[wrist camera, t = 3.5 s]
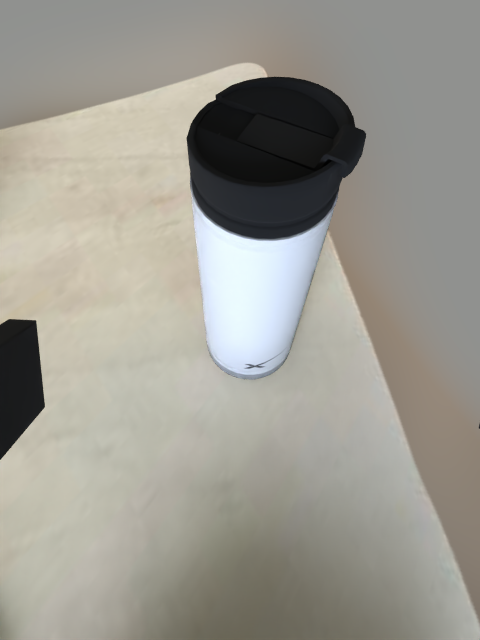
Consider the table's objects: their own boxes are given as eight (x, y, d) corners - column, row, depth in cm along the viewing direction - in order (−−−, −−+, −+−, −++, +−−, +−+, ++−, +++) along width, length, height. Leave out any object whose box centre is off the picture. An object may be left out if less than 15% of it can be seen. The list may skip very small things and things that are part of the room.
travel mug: (270, 398, 32) (324, 211, 14) (191, 355, 33) (147, 135, 15) (308, 328, 35) (394, 94, 17) (232, 291, 36) (236, 38, 18)
